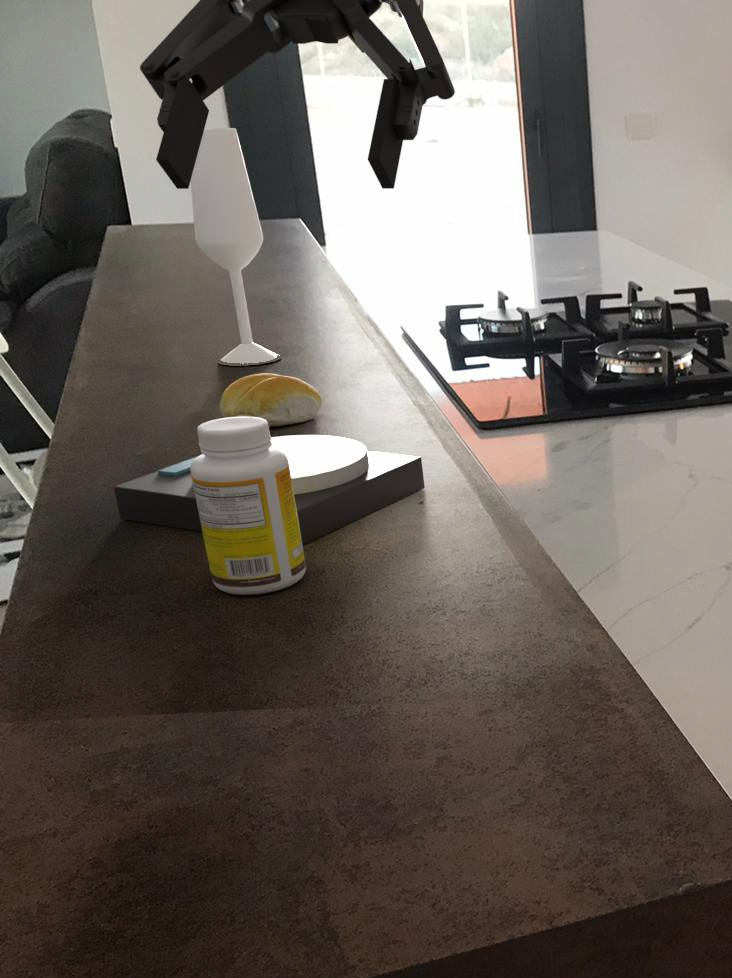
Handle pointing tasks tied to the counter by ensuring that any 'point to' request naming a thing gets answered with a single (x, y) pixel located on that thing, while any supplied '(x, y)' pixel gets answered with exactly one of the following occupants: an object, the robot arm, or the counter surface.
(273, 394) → the bread roll
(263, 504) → the supplement bottle
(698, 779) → the counter surface
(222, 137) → the champagne flute
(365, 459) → the scale
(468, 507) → the counter surface
